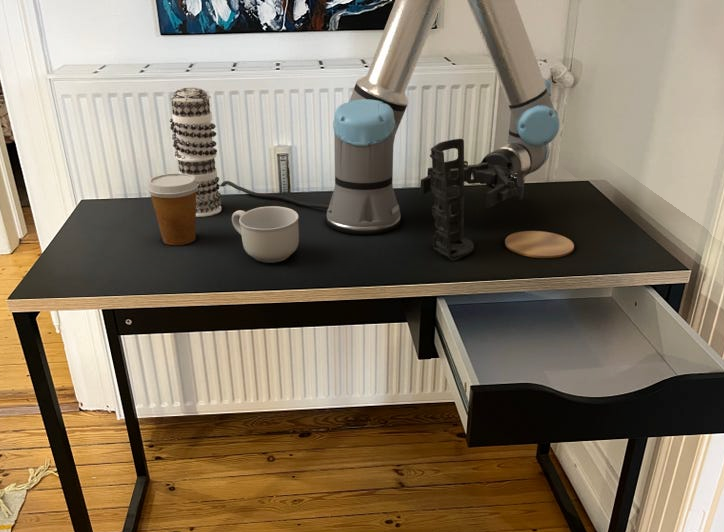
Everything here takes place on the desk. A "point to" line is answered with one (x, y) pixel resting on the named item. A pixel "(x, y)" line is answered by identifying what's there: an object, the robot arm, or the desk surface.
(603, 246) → the desk surface
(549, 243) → the cork mat
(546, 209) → the desk surface
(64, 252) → the desk surface
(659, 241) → the desk surface
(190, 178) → the disposable coffee cup
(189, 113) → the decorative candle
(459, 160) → the holder
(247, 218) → the teacup
